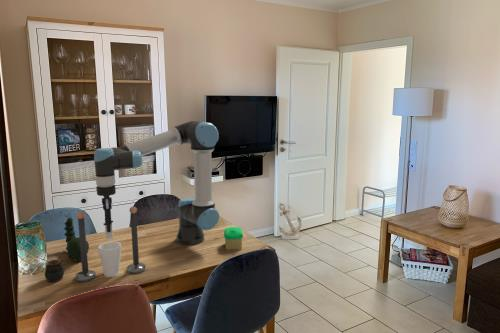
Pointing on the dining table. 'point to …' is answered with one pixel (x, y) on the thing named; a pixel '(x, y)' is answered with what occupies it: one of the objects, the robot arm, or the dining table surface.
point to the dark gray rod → (82, 242)
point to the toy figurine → (73, 241)
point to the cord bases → (92, 274)
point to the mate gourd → (54, 270)
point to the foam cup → (110, 258)
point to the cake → (233, 238)
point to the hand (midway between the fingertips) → (109, 238)
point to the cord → (134, 236)
